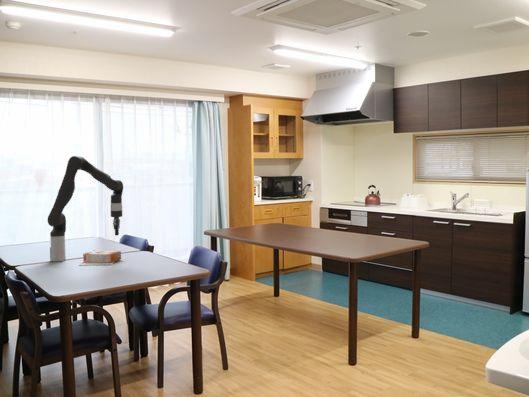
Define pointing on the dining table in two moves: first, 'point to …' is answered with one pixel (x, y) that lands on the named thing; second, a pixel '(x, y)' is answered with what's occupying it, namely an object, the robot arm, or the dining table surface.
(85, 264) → the mat
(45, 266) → the dining table surface
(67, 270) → the dining table surface
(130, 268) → the dining table surface
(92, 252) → the cracker box
